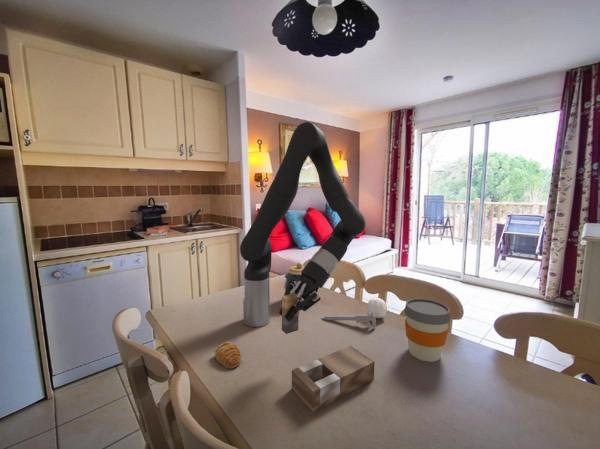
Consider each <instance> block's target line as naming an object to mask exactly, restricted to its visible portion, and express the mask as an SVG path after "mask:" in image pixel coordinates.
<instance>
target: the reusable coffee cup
mask: <svg viewBox="0 0 600 449" xmlns="http://www.w3.org/2000/svg"><path fill="white" fill-rule="evenodd" d="M404 314H405V319H404V326H405V335H406V338H407V345H408V347H407V348H408V352H409V354H410V355H411V356H412V357H414V358H416V359H417V360H420V361H424V362H429V363H431V362H432V363H433V362H437V361H439V360H440V359H441V356H442V353H443V349H444V348H443V347H444V346H445V345H446V341H447V338H448V333H449V329H450V328H449V323H450V321H451V310H450V308H449V307H448V305H445V304H444V303H443V302H440V301H436V300H433V299H429V298H428V299H427V298H411V299H408V300H407V301H406V302H405V307H404Z"/></svg>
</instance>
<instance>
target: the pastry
mask: <svg viewBox="0 0 600 449" xmlns="http://www.w3.org/2000/svg"><path fill="white" fill-rule="evenodd" d="M214 354H215V355H214V356H215V360H216V362H217V363H219V364H220V365H221V366H223V367H225V368H226V369H230V370H231V369H234V368H236V367H238V366H240V364H241V362H242V355H241V350H240V349H239V347H238V346H237V345H236V344H235V343H232V342H231V341H225V342H222V343H221V344H220V345H218V347H217V348H216V350H215V352H214Z"/></svg>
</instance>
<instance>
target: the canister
mask: <svg viewBox="0 0 600 449" xmlns="http://www.w3.org/2000/svg"><path fill="white" fill-rule="evenodd" d="M305 266H306V265H303V264H302V262H297V263H296V265H291V266H290V267H289V268H287V269H286V273H285V274H284V278H285V281H284V292H285V291H286V288H287V286H288V283H289V281H290V280H292V281H297V280H298V279H299V278H300V277H301V276H302V274H301V271H302V270H303V269H304V267H305ZM289 294H290V293H289ZM289 294H288V295H289ZM295 294H296V293H295ZM296 295H297V294H296ZM300 302H301V301H300ZM300 302H299V303H300ZM307 304H308V303H306V304H305V305H307ZM305 305H304V306H305Z"/></svg>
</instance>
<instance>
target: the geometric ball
mask: <svg viewBox="0 0 600 449" xmlns="http://www.w3.org/2000/svg"><path fill="white" fill-rule="evenodd" d="M366 311H367V313H368V312H369V313H370V314H371V313H373V315H375V319H380V318H381V319H382V318H383V317H385V316H386V313H387V312H388V305H387V303H386V302H385V300H384V299H382V298H379V297H373V298H371V299H369V300H368V302H367V304H366Z"/></svg>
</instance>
